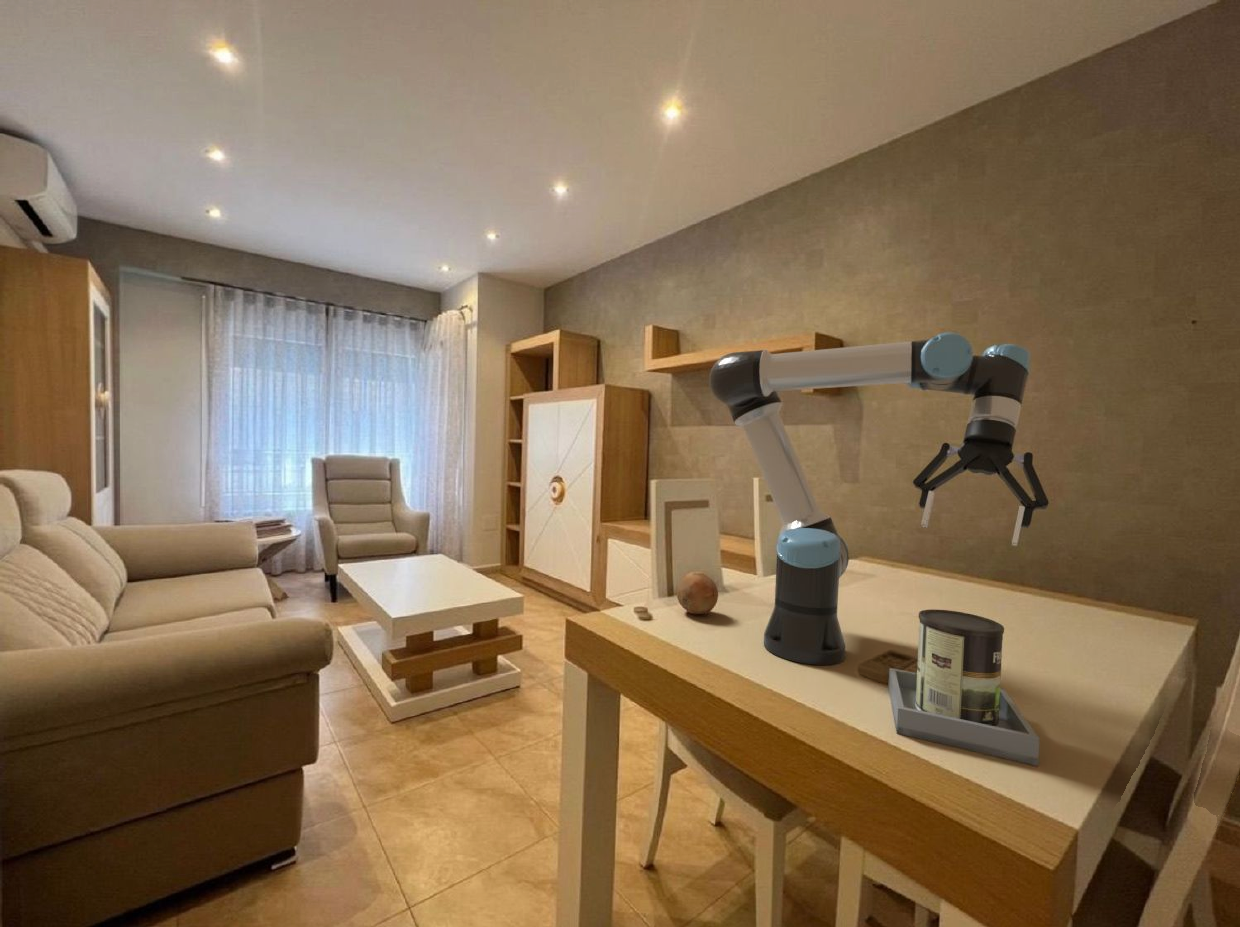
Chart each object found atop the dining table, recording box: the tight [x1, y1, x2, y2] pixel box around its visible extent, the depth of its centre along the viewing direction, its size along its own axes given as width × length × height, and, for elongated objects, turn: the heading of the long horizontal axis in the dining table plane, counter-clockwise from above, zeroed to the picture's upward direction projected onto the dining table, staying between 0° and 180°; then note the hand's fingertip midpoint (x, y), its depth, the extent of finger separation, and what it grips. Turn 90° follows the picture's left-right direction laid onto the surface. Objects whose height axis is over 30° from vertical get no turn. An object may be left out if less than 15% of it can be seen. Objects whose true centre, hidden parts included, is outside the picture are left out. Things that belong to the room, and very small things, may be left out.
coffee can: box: [915, 608, 1005, 727], centre depth 74 cm, size 10×10×14 cm
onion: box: [676, 571, 719, 615], centre depth 121 cm, size 10×10×10 cm
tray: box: [887, 667, 1040, 767], centre depth 74 cm, size 16×16×4 cm
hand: (967, 534), depth 91 cm, fingers open, 13 cm apart
